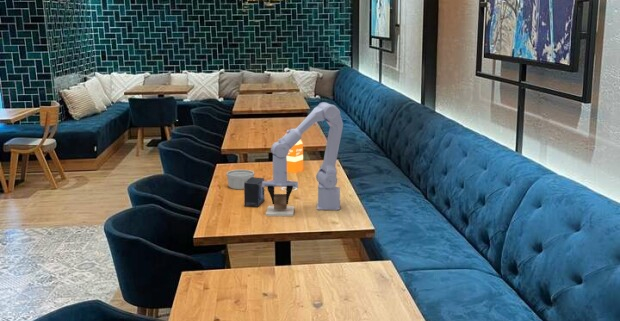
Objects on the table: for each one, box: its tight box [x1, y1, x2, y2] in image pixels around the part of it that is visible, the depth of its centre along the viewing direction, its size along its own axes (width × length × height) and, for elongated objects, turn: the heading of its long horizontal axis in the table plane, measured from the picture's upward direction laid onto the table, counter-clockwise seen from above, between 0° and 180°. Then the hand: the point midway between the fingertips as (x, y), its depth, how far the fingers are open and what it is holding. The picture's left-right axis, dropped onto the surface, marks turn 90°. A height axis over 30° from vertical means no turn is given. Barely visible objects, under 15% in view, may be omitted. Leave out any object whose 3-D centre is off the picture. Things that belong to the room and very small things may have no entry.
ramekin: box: [226, 169, 255, 190], centre depth 283 cm, size 13×13×7 cm
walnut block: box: [273, 193, 288, 209], centre depth 243 cm, size 5×5×5 cm
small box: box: [243, 176, 265, 208], centre depth 255 cm, size 11×6×10 cm, turn 168°
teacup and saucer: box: [280, 180, 298, 192], centre depth 280 cm, size 9×8×4 cm
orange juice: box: [284, 132, 304, 174], centre depth 313 cm, size 8×9×20 cm
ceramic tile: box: [265, 205, 295, 217], centre depth 244 cm, size 11×11×1 cm
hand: (280, 203), depth 243 cm, fingers closed on walnut block, 5 cm apart
